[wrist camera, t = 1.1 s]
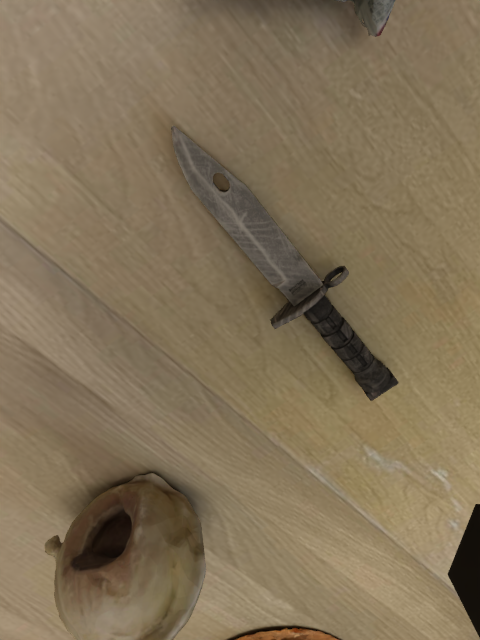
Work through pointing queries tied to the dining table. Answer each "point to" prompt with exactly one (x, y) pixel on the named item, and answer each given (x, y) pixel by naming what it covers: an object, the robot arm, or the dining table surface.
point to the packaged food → (373, 14)
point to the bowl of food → (289, 635)
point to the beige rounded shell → (130, 564)
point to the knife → (280, 263)
